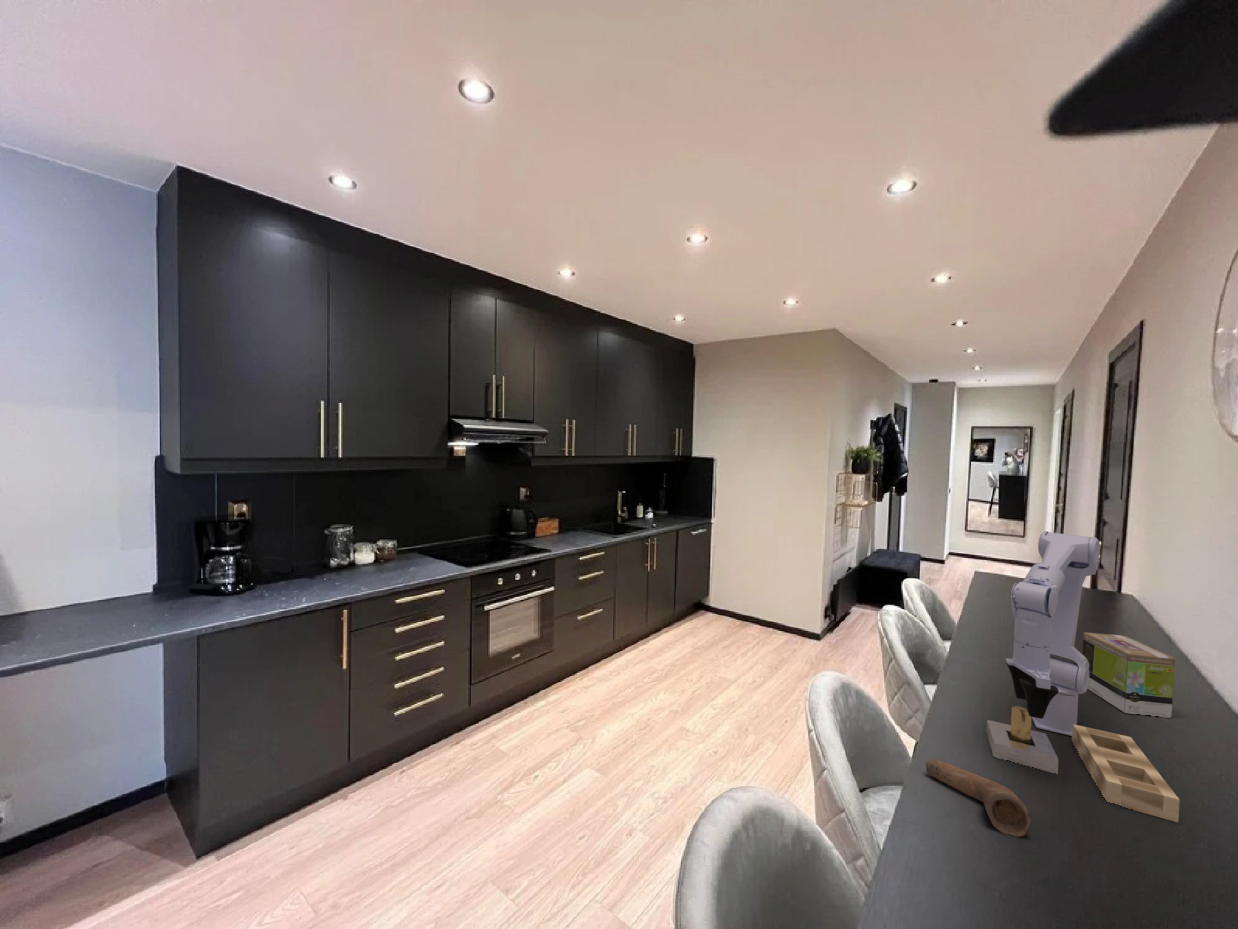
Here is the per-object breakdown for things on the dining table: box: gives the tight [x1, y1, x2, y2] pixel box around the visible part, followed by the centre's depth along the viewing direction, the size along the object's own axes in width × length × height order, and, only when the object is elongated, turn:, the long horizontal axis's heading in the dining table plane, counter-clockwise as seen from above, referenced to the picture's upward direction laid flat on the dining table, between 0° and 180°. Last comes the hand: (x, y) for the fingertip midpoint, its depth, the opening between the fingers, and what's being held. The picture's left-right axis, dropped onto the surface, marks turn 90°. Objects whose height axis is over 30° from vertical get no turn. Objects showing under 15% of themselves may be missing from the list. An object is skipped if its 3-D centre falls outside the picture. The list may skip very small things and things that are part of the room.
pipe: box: [925, 758, 1032, 837], centre depth 87 cm, size 6×17×10 cm
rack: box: [1071, 724, 1181, 823], centre depth 95 cm, size 21×9×4 cm, turn 150°
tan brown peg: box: [1010, 705, 1033, 745], centre depth 102 cm, size 3×3×9 cm
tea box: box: [1081, 631, 1176, 719], centre depth 124 cm, size 15×10×15 cm
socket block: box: [986, 719, 1059, 775], centre depth 102 cm, size 10×10×3 cm
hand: (1029, 707), depth 100 cm, fingers open, 7 cm apart
